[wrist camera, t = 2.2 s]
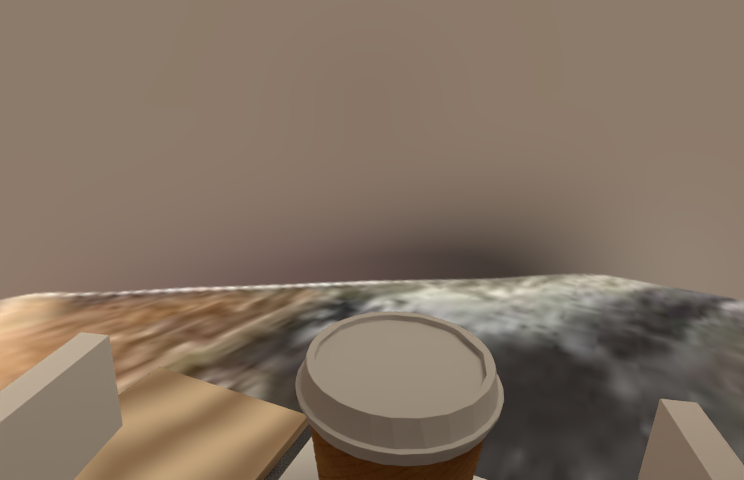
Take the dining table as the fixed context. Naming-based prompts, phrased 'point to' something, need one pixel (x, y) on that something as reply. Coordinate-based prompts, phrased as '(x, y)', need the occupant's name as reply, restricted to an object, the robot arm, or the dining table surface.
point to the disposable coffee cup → (398, 398)
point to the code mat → (309, 465)
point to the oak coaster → (193, 433)
